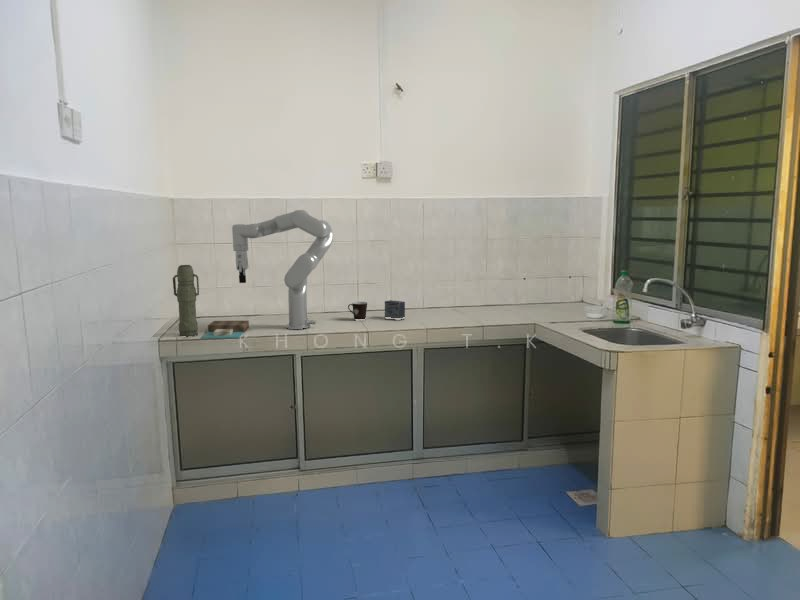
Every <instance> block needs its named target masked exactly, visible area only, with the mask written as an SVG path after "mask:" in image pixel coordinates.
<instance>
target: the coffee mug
mask: <svg viewBox="0 0 800 600" xmlns="http://www.w3.org/2000/svg"><path fill="white" fill-rule="evenodd" d="M350 306H351V307H352V310H351V308H350ZM347 309H348V311H350V313H351V314H353V320H354V319H365V318H366V317H367V309H368V302H367V301H353V302H352V303H350V304H348V306H347ZM365 320H366V319H365Z"/></svg>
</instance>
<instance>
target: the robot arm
mask: <svg viewBox="0 0 800 600" xmlns="http://www.w3.org/2000/svg"><path fill="white" fill-rule="evenodd" d="M295 229H300V230H301V231H304V232H305V233H307V234H309V235H311V236H313V237H315V238H316V239H314V241H313V242H312V244H311V245H310V246H309V247H308V249H307V250H306V251H305V252H303V254H301V255H300V256H298V257H297V259H295V261H294V262H293V264H292V265H291V266H290V268H289V269H288V271H287V272H286V273H285V275H284V279H283V280H284V284H285V286H286V287H288V290H287V293H288V324H286V326H285V327H286V329H287V328H288V330H293V329H300V330H304V329H303V328H307V329H309V328H311V325H316V320H313V319H312V320H310V319H309V318H308V307H307V305H308V303H307V302H308V301H307V299H308V298H307V292H308V290H307V289H308V288H307V286H308V276H309V275H310V274H311V273H312V271H313V270H315V269H316V268H317V267H318V264H319V263H320V261H322V259H323V258H324V256H325V255H326V253H327V252H328V251H329V250H330V247H331V245H332V243H333V242H334V232H333V229H332V226H331V225H330V224H329V222H328V221H326V220H322V219H321V220H320V219H318V218H316V217H313V216H312V215H310V213H308V212H307V211H306V210H305V209H297V210H296V209H295V210H294V211H291V212H288V213H284V214H281V215H277V216H275V217H273V218H272V219H269V220H264V221H261V222H257V223H249V224H242V223H241V224H239V223H238V224H233V225H232V226H231V230H232V247H233V252H235V266H236V270H237V271H238V281H239V282H238V283H239V284H245V283H247V276H246V270H248V269H249V257H248V251H249V242H248V241H249V239H258V238H262V237H266V236H269V235H273V234H278V233H283V232H288V231H290V230H295ZM308 327H309V328H308Z"/></svg>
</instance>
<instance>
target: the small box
mask: <svg viewBox="0 0 800 600" xmlns="http://www.w3.org/2000/svg"><path fill="white" fill-rule="evenodd" d="M405 305H406V302H405V301H401V300H384V318H385V317H391V318H403V317H405V318H406V309H405V308H406V306H405Z"/></svg>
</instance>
